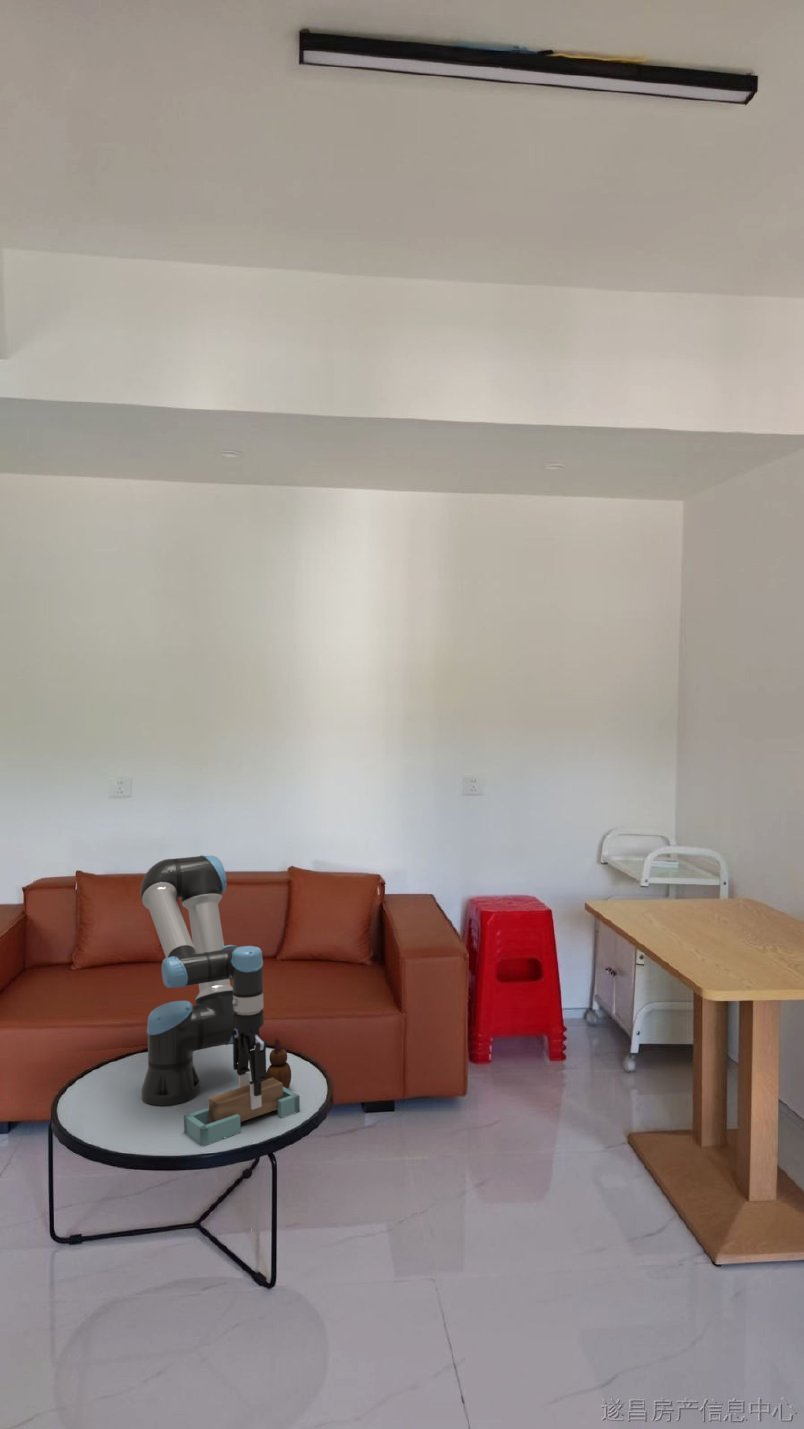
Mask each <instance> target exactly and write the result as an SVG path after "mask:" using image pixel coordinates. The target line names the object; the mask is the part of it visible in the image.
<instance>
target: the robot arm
mask: <svg viewBox="0 0 804 1429" xmlns="http://www.w3.org/2000/svg"><path fill="white" fill-rule="evenodd" d="M227 886H228V885H227V876H226V870H225V867H224V865H223V863H222V861H221V860H220V859H219V858H218V856H215V855H204V854H203V855H199V856H190V857H188V856H187V857H178V858H167V859H163V860H161V861H158V862H156V863H155V864H154V865H152V866H151V867H150V868H149V869H148V870H147V871H146V873H145V874H144V877H143V878H142V882H141V883H140V893H139V894H140V898H141V899H140V900H141V903H142V905H143V906H144V907H145V908H146V909H147V910H149V913H150V915H151V919H152V922H153V924H154V928H155V930H156V933H157V936H158V939H159V942H160V944H161V947H162V950H163V953H164V956H165V958H164V959H163V960H162V963H161V977H162V982H163V985H164V986H165V987H166V988H167V989H172V988H184V987H188V986H193V985H194V986H195V985H198V989H199V993H198V994H197V996H196V998H195V999H194V1001H195V1002H194V1003H195V1005H192V1002H190V1001H189V1000H175V1001H170V1002H167V1003H164V1004H161V1005H159V1006H156V1007H155V1008H154V1009H153V1010H151V1011H150V1013H149V1015H148V1017H147V1028H146V1034H147V1061H148V1062H147V1066H148V1067H147V1071H146V1074H145V1077H144V1081H143V1084H142V1088H141V1099H142V1101H143V1102H145V1103H146V1104H148V1105H153V1106H160V1107H161V1106H162V1107H163V1106H172V1105H178V1104H183V1103H185V1102H188V1101H190V1100H192V1099H194V1098H195V1097H197V1096H198V1095H199V1094H200V1092H201V1081H200V1078H199V1076H198V1072H197V1070H196V1066H195V1064H194V1055H193V1054H194V1052H195V1051H199V1050H204V1049H210V1048H215V1047H220V1046H224V1045H225V1046H229V1045H230V1044H232V1056H233V1057H232V1060H233V1062H232V1063H233V1065H232V1066H233V1070H235V1071H236V1073H237V1075H238V1088H241V1087H244V1086H247V1085H250V1108H251V1110H253V1109H256V1108H259V1107H262V1101H261V1082H262V1081H266V1079H267V1078H266V1072H267V1045H268V1043H267V1041H266V1040H262V1039H261V1034H260V1029H261V1027H263V1026H264V1023H265V1019H264V1018H265V1017H264V1016H265V1015H264V1010H263V1008H265V1007H264V976H263V975H264V974H263V971H264V969H263V965H264V959H263V951H262V949H261V948H260V947H258V946H254V945H244V946H237V945H234V944H228V945H225V941H224V935H223V930H222V923H221V917H220V915H221V914H220V910H219V903H220V901H221V900H222V899H223V895H222V894H224V893H226V889H227ZM177 899H180V900H181V904H182V905H181V906H182V907H184V908H185V909H186V910H188V916H189V918H188V919H189V924H190V925H189V926H190V931H191V936H190V933H189V932H190V931H189V930H188V928H187V925H186V922H185V920H184V917H183V914H182V912H181V910H180V907H179V904H178V902H177ZM230 980H232V985H231V981H230ZM250 1078H251V1079H250Z"/></svg>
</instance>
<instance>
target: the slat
mask: <svg viewBox="0 0 804 1429" xmlns="http://www.w3.org/2000/svg"><path fill="white" fill-rule="evenodd" d="M282 1098H283V1083H281V1082H280V1081H278V1080H276V1079H274V1078H273V1077H272V1078H269V1079H266V1081H262V1082H261V1101H262V1107H259V1108H256V1109H253V1110H251V1108H250V1085H247V1086H244V1087H241V1088H239V1087H237V1088H235V1089H232V1090H229V1091H226V1092H223V1093H220V1094H217V1095H213V1096H209V1097H208V1108H209V1123H213V1122H216V1121H218V1120H221V1119H224V1118H227V1117H230V1116H233V1115H236V1114H238V1115H239V1116H240V1123H242V1122H245V1121H248V1120H250V1119H253V1118H256V1117H259V1116H263V1115H264V1114H267V1113H268V1114H269V1113H270V1112H272V1111H273V1112H274V1111H276V1110H278V1100H279V1099H282Z"/></svg>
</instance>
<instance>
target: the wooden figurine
mask: <svg viewBox="0 0 804 1429" xmlns="http://www.w3.org/2000/svg"><path fill="white" fill-rule="evenodd" d="M287 1052H288V1051H287V1050H286V1049H285V1048H282V1042H281V1041H280V1040H279V1037H275V1039H274V1049H272V1050H271V1051H270V1052H269V1063H270V1065H269V1067H268V1068H266V1078H267V1079H269V1078H272V1077H273V1078H274V1079H276V1080H278V1081H280V1082H281V1083H283V1087H285V1088H287V1089H289V1088H290V1086H291V1081H292V1069H291V1066H290V1064H289V1062H287V1061H288V1053H287Z"/></svg>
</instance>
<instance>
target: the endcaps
mask: <svg viewBox="0 0 804 1429" xmlns="http://www.w3.org/2000/svg"><path fill="white" fill-rule="evenodd" d="M300 1100H301V1099H300V1095H299V1094H297V1093H296V1092H294V1091H293V1090H290V1089H289V1088H288V1089H287V1088H285V1087H283V1098H282V1099H279V1100H278V1109H277V1116H278V1118H280V1119H281V1118H282V1119H283V1118H284V1117H288V1116H291V1115H293V1113H294V1114H296V1113H298V1112H300V1111H301V1110H300V1109H301V1108H300V1106H301V1105H300ZM295 1112H296V1113H295ZM290 1114H291V1115H290ZM183 1132H184V1133H185V1134H186V1135H187V1136H189V1137H190V1138H191V1139H192V1140H194V1141H195V1142H196V1143H197V1144H199V1145H200V1146H202V1145H203V1146H202V1147H205V1146H207V1145H208V1146H209V1145H210V1143H211V1144H213V1142H214V1143H216V1142H218V1141H217V1140H219V1141H221V1140H220V1139H222V1138H224V1137H227V1138H230V1137H233V1136H236V1135H238V1134H240V1133H241V1132H242V1130H241V1122H240V1116H239V1115H238V1114H236V1115H233V1116H230V1117H227V1118H224V1119H221V1120H218V1121H216V1122H213V1123H209V1107H207V1108H206V1107H205V1108H204V1109H200V1110H198V1111H195V1112H191V1113H188V1114H185V1115H184V1116H183ZM237 1133H238V1134H237ZM235 1134H236V1135H235ZM232 1135H233V1136H232ZM222 1140H223V1139H222ZM215 1141H216V1142H215ZM204 1145H205V1146H204Z"/></svg>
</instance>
